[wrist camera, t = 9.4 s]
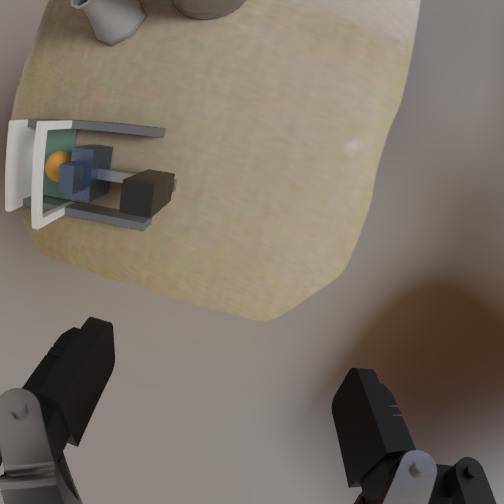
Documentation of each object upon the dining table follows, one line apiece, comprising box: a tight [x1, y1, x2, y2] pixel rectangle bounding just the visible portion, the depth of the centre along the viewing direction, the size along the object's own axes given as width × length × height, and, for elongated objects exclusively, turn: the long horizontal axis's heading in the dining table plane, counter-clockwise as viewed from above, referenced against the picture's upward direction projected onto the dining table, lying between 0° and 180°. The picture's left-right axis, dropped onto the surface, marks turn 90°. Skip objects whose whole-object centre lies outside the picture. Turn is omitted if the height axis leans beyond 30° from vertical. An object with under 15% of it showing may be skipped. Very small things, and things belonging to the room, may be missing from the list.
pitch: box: [5, 119, 165, 231], centre depth 29 cm, size 12×20×9 cm, turn 77°
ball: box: [45, 151, 71, 182], centre depth 31 cm, size 4×4×4 cm
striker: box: [58, 145, 177, 218], centre depth 29 cm, size 6×12×11 cm, turn 77°
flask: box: [70, 0, 145, 46], centre depth 22 cm, size 7×7×10 cm
